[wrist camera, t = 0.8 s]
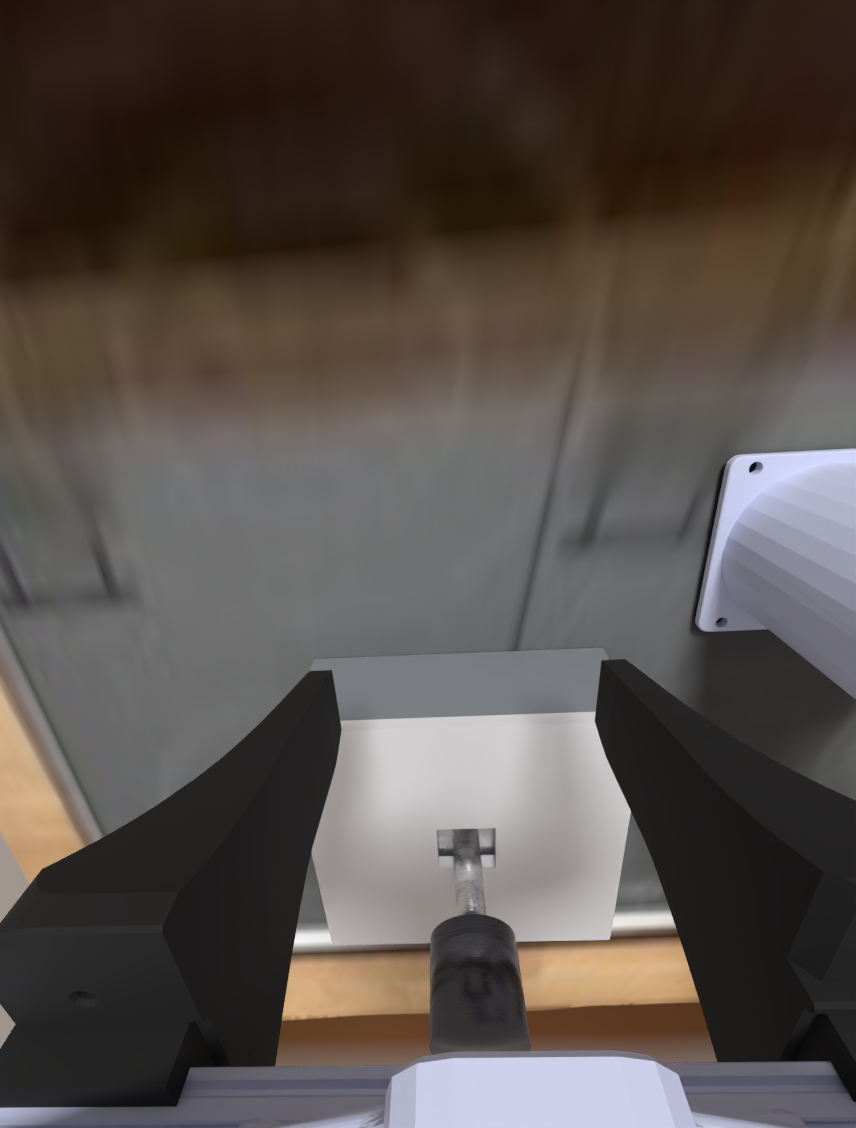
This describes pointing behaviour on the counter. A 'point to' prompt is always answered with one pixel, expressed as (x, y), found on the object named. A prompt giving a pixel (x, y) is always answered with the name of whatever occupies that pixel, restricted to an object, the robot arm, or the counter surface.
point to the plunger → (474, 962)
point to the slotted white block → (470, 795)
